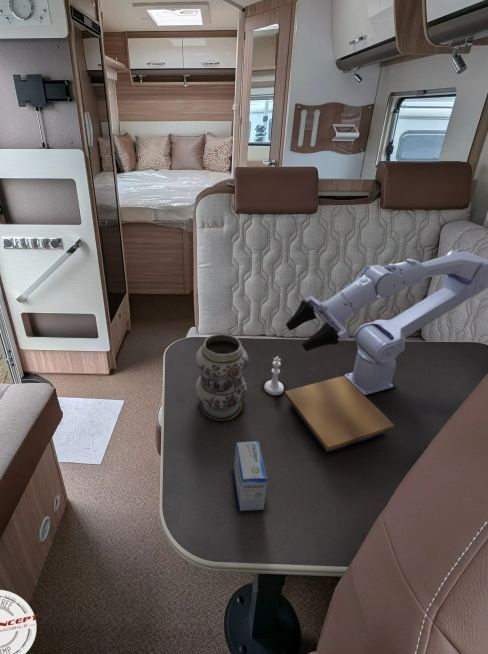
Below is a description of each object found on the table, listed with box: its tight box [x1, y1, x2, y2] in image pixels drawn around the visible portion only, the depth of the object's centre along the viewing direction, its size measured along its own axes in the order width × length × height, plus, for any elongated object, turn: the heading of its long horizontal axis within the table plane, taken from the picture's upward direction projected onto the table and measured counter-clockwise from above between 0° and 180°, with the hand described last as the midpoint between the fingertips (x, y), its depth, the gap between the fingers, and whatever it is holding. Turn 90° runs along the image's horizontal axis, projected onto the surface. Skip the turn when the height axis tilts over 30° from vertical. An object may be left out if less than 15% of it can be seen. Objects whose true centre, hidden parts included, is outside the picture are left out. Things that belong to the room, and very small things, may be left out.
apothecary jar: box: [195, 333, 249, 422], centre depth 84 cm, size 12×12×18 cm
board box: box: [283, 375, 396, 454], centre depth 83 cm, size 17×17×4 cm
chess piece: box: [263, 355, 285, 396], centre depth 91 cm, size 5×5×10 cm
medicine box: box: [233, 440, 268, 512], centre depth 66 cm, size 8×4×9 cm, turn 5°
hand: (295, 337), depth 82 cm, fingers open, 7 cm apart
